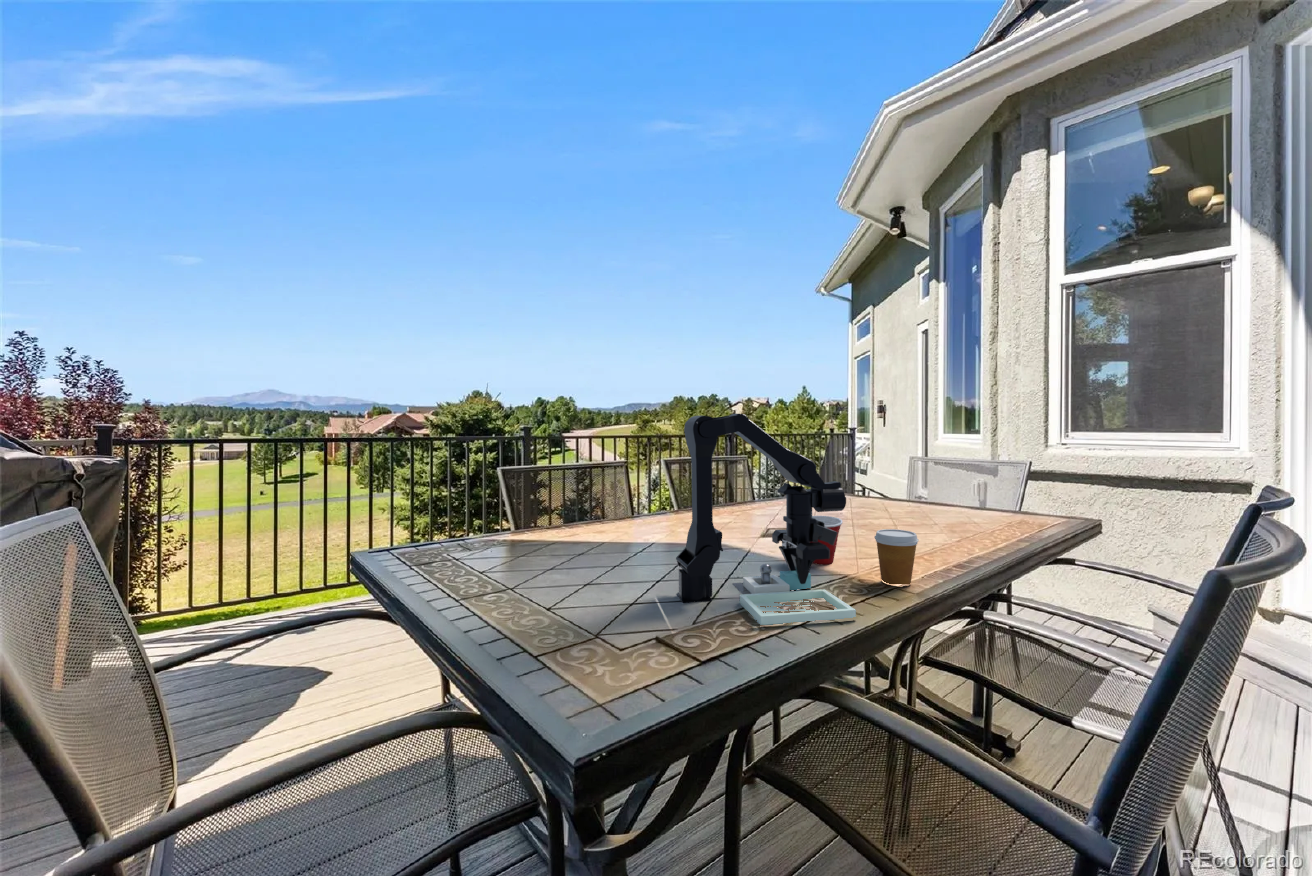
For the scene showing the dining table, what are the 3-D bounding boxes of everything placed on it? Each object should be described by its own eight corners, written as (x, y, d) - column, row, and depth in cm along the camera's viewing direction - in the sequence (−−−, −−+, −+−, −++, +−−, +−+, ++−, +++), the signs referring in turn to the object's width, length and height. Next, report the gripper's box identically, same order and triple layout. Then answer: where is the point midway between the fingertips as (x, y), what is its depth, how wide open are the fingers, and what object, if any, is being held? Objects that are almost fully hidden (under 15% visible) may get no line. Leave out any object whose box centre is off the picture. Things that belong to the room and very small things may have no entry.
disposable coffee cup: (865, 581, 132) (865, 531, 131) (894, 575, 136) (894, 527, 135) (897, 592, 123) (898, 538, 123) (927, 586, 127) (928, 534, 127)
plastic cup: (796, 566, 146) (796, 520, 145) (805, 556, 155) (805, 514, 155) (838, 571, 141) (839, 524, 140) (845, 561, 150) (845, 517, 150)
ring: (754, 596, 120) (754, 580, 120) (743, 585, 128) (743, 570, 128) (815, 592, 122) (815, 577, 122) (800, 582, 130) (800, 567, 130)
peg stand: (748, 601, 118) (748, 572, 117) (732, 585, 129) (732, 558, 129) (802, 598, 119) (802, 569, 119) (780, 582, 131) (780, 556, 131)
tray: (761, 628, 103) (761, 616, 103) (739, 604, 116) (739, 594, 116) (855, 621, 106) (855, 610, 106) (824, 599, 119) (824, 589, 119)
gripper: (853, 519, 117) (853, 591, 118) (814, 505, 136) (814, 568, 136) (803, 521, 115) (803, 594, 116) (771, 507, 134) (771, 570, 134)
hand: (799, 581), depth 126 cm, fingers closed on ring, 3 cm apart
